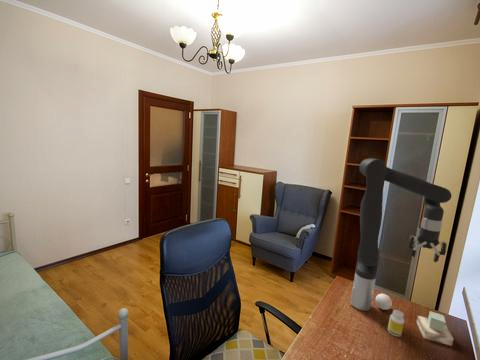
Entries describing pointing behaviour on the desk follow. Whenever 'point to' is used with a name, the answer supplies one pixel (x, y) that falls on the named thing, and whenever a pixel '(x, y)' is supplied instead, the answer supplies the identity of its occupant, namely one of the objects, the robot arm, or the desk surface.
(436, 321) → the sage cube
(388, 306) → the white rounded oval
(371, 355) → the desk surface
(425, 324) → the birch block
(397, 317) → the supplement bottle
